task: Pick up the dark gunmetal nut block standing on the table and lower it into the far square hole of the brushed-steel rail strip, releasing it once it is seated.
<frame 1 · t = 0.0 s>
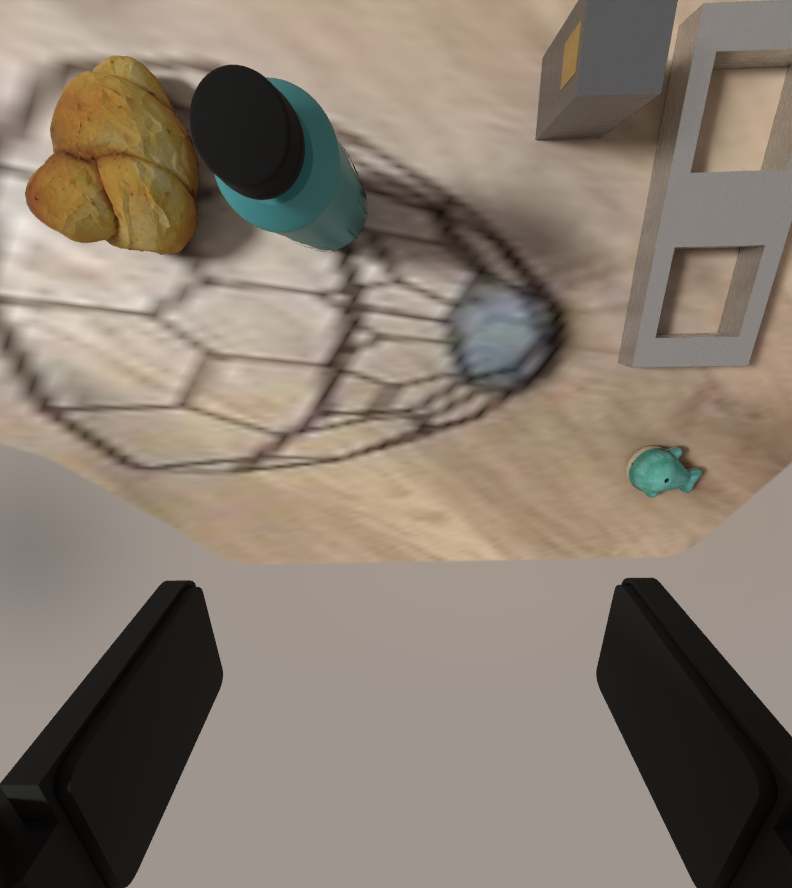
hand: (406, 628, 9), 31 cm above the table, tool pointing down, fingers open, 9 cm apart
rail: (706, 215, 33), on the table
beverage bottle: (330, 211, 34), on the table
bread roll: (157, 174, 33), on the table
whale figurine: (655, 466, 42), on the table
nut block: (572, 99, 31), on the table
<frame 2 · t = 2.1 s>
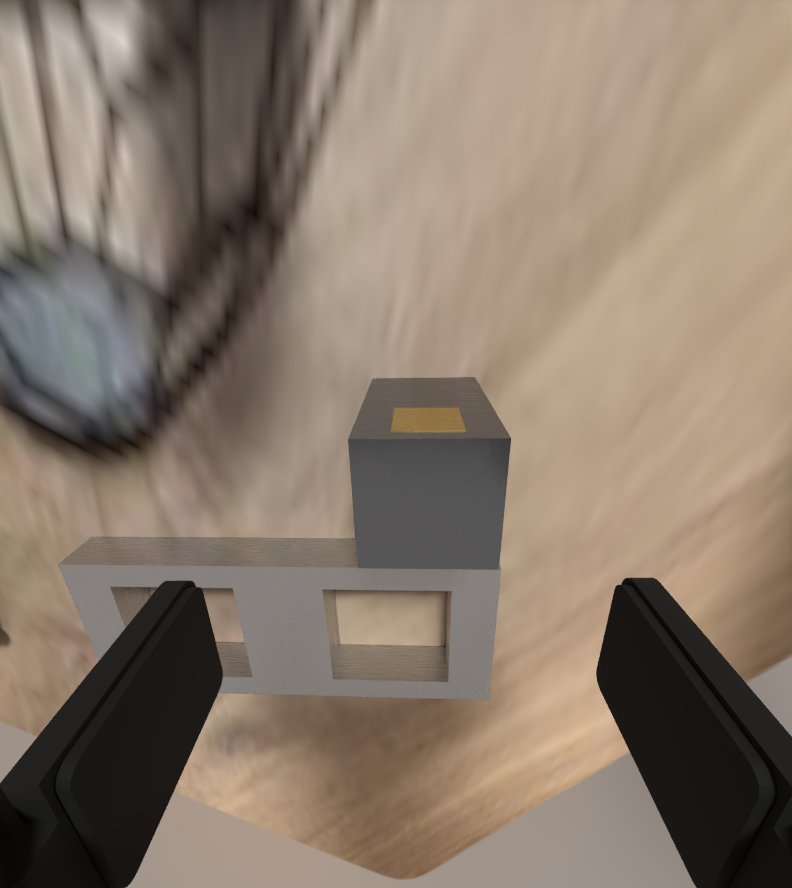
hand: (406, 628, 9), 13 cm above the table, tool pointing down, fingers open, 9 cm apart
rail: (297, 603, 26), on the table
nut block: (423, 425, 21), on the table
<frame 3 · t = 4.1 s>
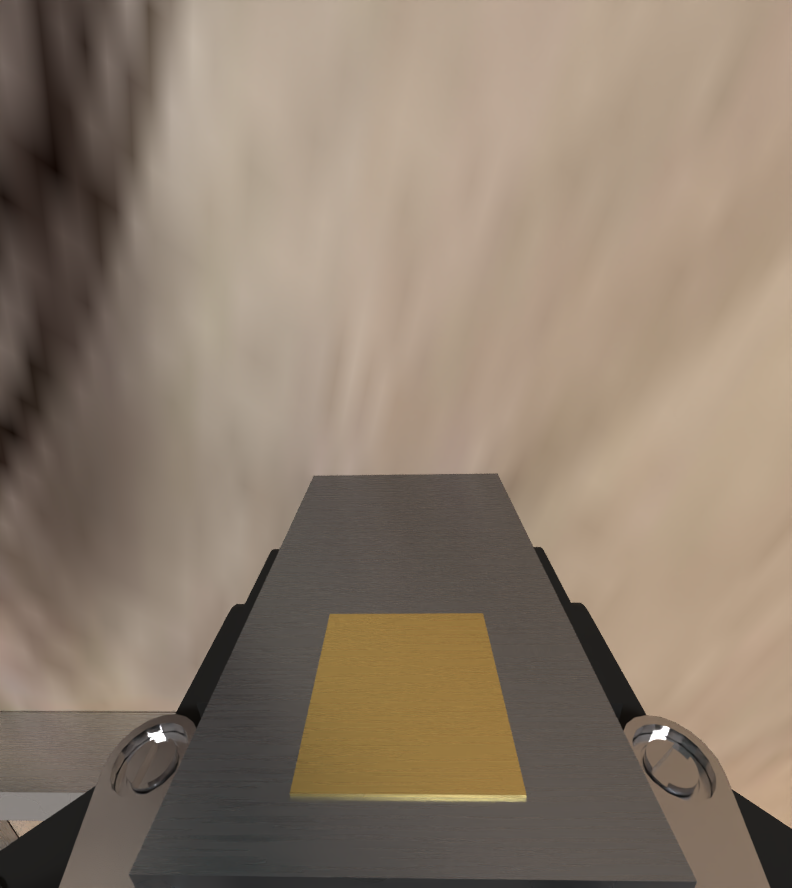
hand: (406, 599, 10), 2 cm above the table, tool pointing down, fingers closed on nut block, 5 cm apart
rail: (214, 795, 17), on the table
nut block: (406, 551, 12), on the table, touching gripper
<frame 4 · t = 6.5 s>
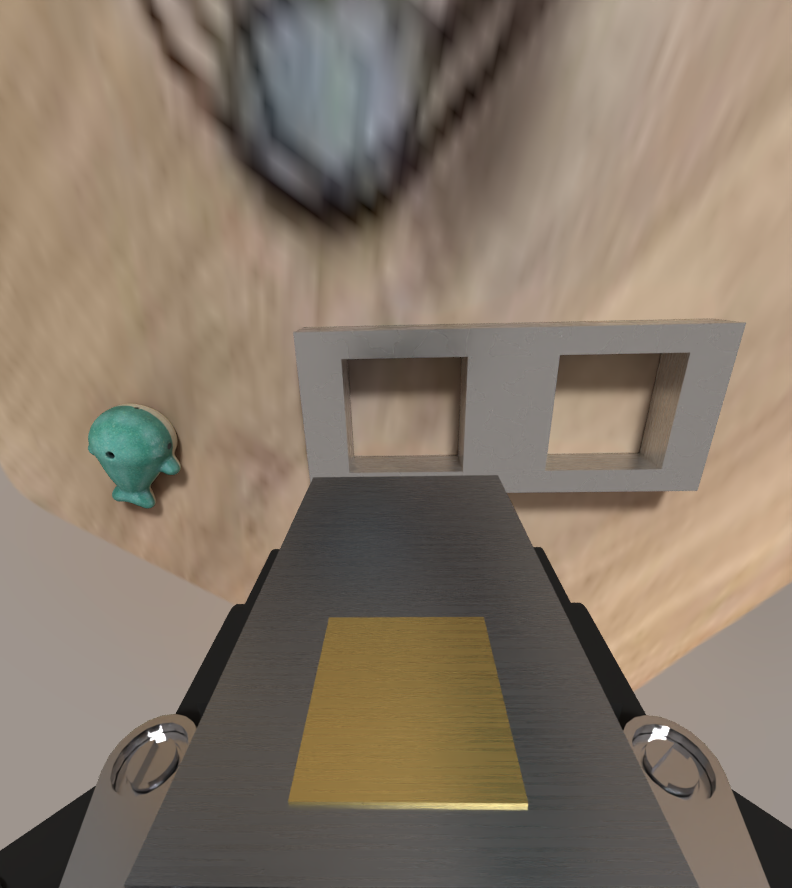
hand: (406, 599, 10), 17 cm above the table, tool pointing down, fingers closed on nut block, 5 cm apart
rail: (499, 404, 26), on the table
whale figurine: (148, 449, 28), on the table
nut block: (406, 552, 12), point 15 cm above the table, touching gripper
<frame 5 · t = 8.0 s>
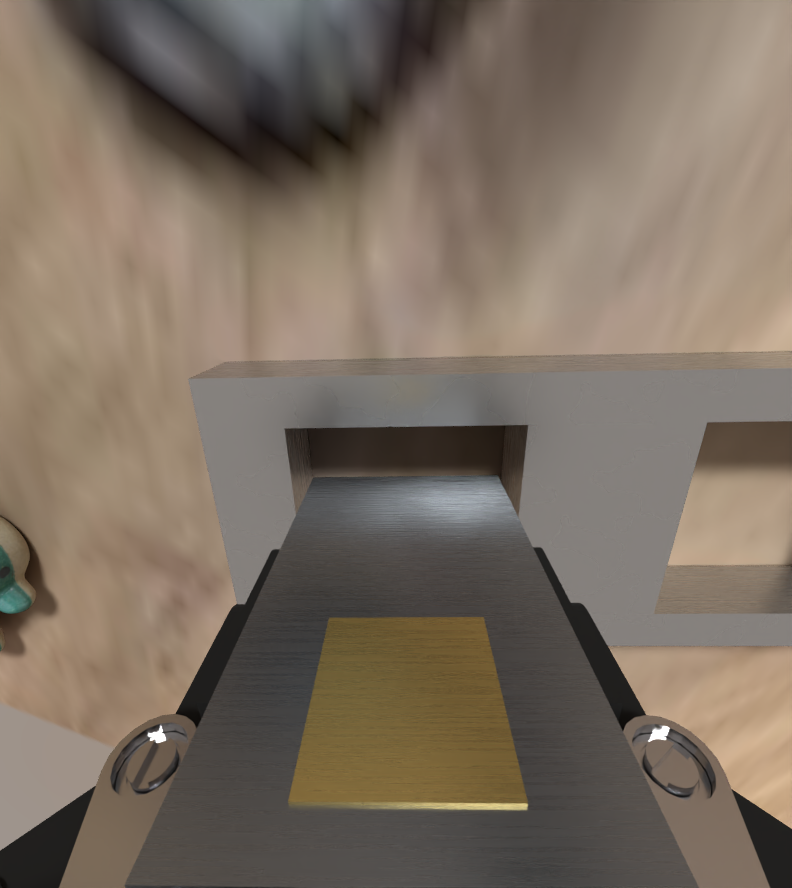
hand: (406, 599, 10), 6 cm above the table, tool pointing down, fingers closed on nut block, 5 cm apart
rail: (567, 490, 15), on the table
nut block: (406, 552, 12), point 4 cm above the table, touching gripper
when the fingers open (3 cm above the table, at t = 9.2 s): nut block drops 1 cm, resting in rail.
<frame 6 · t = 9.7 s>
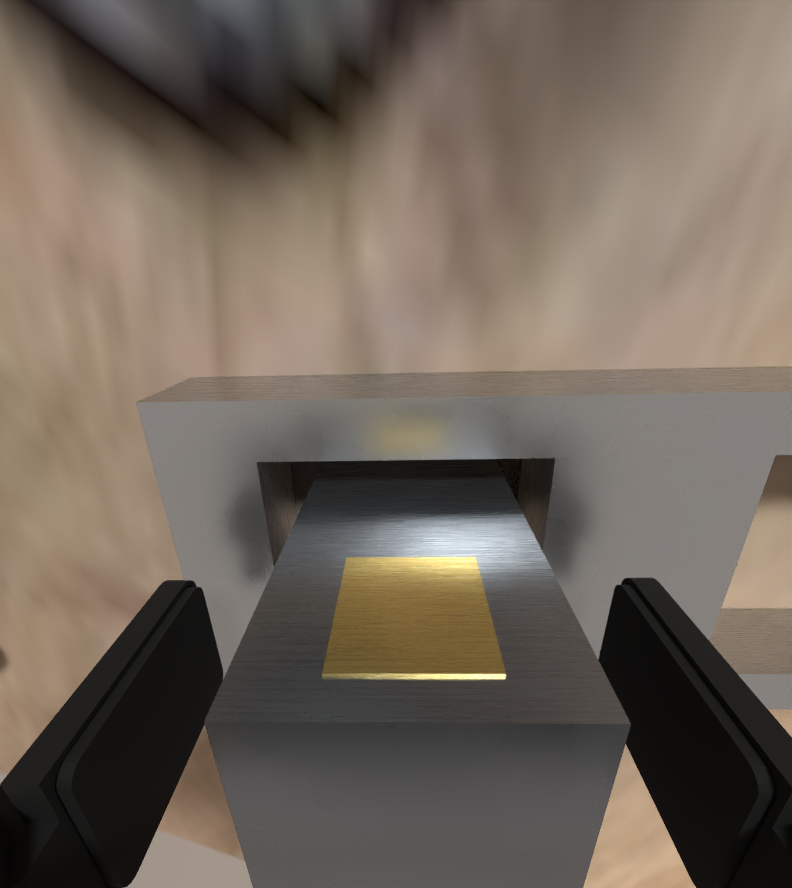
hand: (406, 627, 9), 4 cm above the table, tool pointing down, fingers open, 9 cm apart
rail: (593, 525, 13), on the table
nut block: (409, 524, 13), resting in rail
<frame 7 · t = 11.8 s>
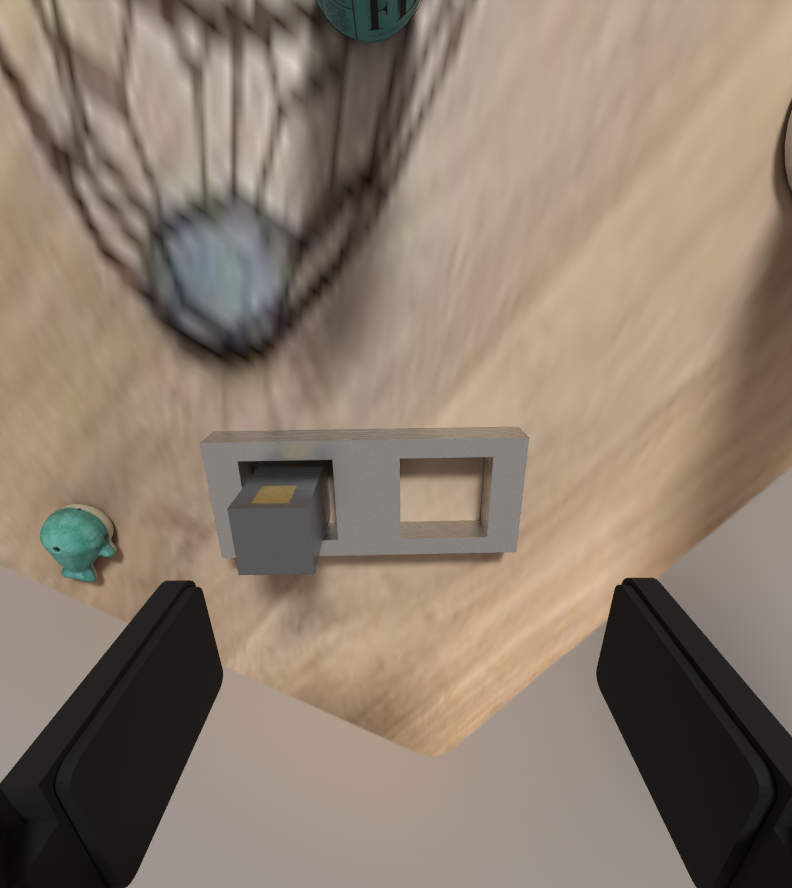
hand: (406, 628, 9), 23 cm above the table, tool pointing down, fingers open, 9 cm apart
rail: (369, 486, 33), on the table
whale figurine: (91, 534, 35), on the table
nut block: (298, 486, 33), resting in rail
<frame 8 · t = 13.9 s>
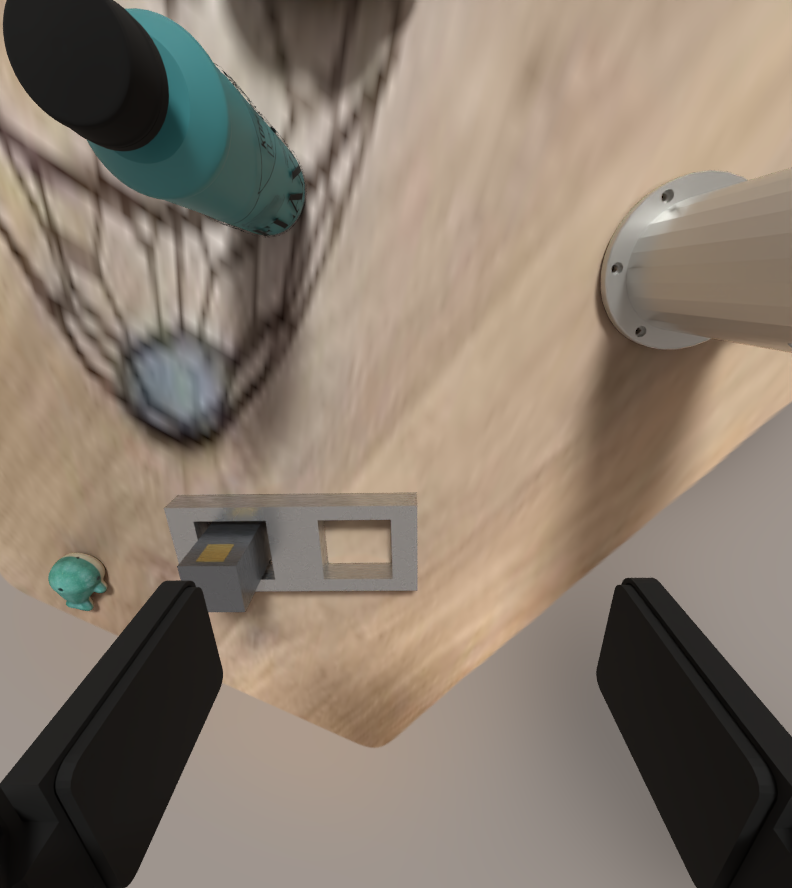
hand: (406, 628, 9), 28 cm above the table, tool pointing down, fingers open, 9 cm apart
rail: (301, 536, 42), on the table
beverage bottle: (270, 192, 31), on the table
whale figurine: (89, 574, 45), on the table
nut block: (245, 535, 42), resting in rail
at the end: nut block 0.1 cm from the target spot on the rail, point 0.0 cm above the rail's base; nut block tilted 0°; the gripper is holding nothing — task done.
